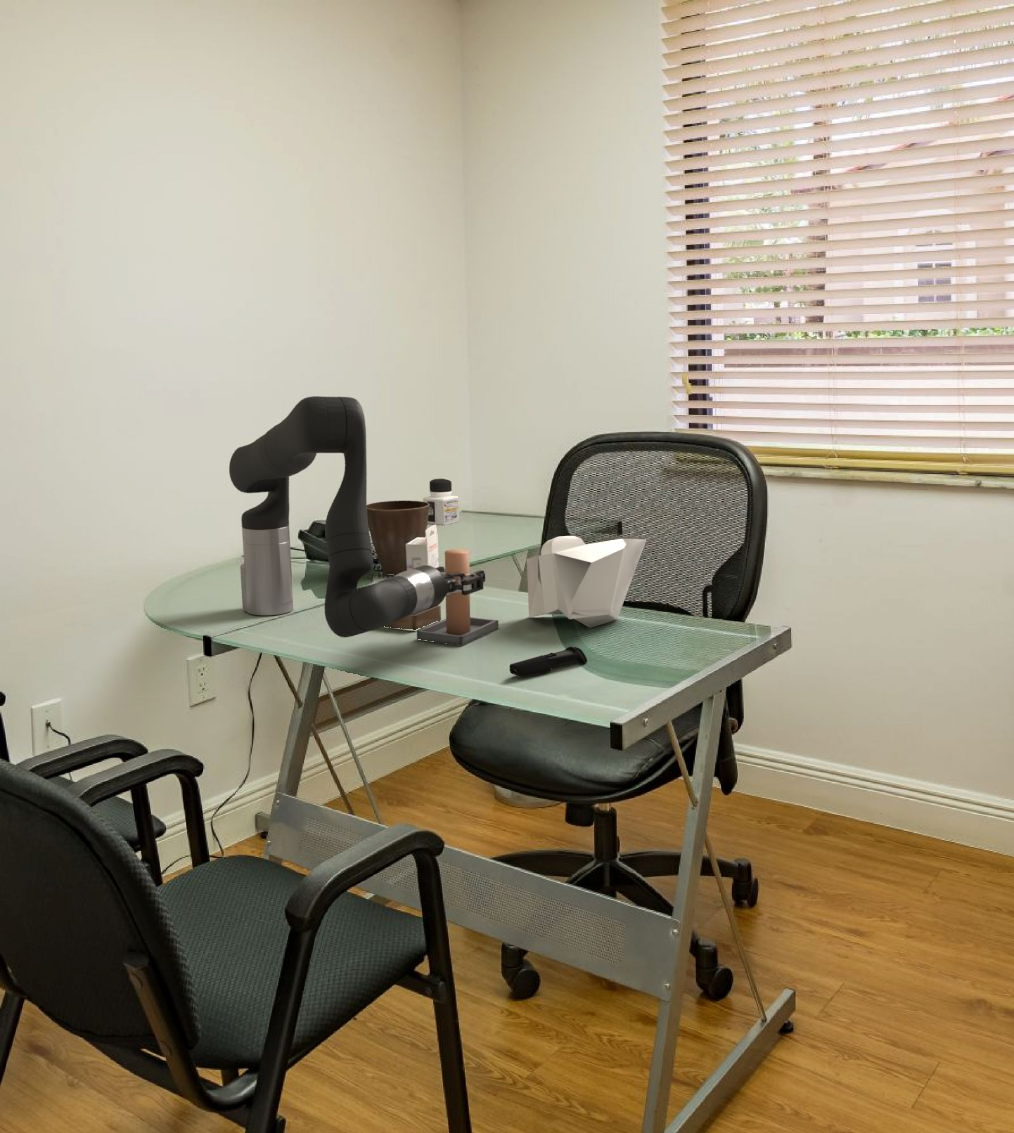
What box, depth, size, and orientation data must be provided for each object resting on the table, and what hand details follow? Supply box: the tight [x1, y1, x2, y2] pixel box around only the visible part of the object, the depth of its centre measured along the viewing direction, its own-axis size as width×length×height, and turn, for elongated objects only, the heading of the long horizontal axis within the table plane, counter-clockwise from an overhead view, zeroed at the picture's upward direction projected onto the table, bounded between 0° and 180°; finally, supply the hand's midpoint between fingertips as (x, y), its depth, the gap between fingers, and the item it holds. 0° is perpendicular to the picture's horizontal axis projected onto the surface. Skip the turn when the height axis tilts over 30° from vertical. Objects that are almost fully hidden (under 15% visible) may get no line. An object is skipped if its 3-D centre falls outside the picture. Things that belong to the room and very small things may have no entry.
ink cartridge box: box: [406, 524, 440, 570], centre depth 242 cm, size 9×5×15 cm, turn 168°
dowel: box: [444, 548, 471, 635], centre depth 207 cm, size 4×4×15 cm
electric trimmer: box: [509, 646, 588, 677], centre depth 186 cm, size 4×16×3 cm, turn 131°
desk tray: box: [416, 616, 499, 647], centre depth 209 cm, size 9×13×2 cm
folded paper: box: [526, 535, 647, 629], centre depth 217 cm, size 17×24×17 cm
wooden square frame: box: [385, 604, 442, 630], centre depth 218 cm, size 9×9×3 cm
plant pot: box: [367, 500, 430, 575], centre depth 265 cm, size 15×15×16 cm
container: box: [422, 478, 460, 526], centre depth 338 cm, size 8×8×13 cm
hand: (462, 573), depth 209 cm, fingers open, 8 cm apart
